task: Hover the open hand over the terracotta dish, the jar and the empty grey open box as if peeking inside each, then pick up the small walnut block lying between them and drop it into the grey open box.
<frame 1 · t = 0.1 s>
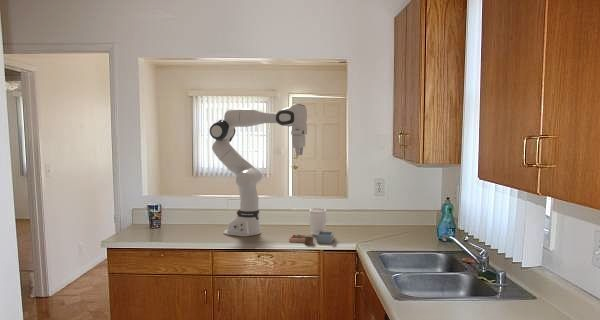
hand: (299, 155, 247), 48 cm above the table, fingers open, 8 cm apart
grey open box: (325, 242, 236), on the table
jar: (317, 234, 254), on the table
ball: (298, 240, 238), point 1 cm above the table, touching dish
dish: (298, 241, 238), on the table
block: (308, 244, 231), on the table
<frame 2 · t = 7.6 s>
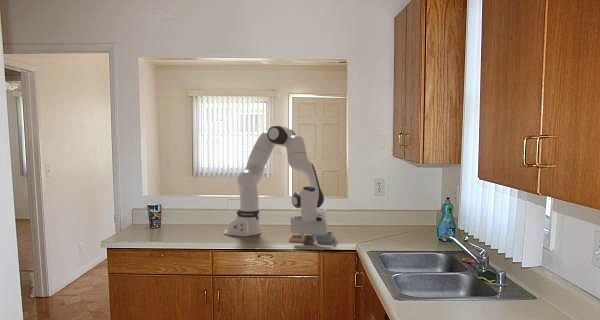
hand: (309, 241, 231), 2 cm above the table, fingers closed on block, 4 cm apart
block: (308, 244, 231), on the table, touching gripper
everything else where it was.
when the fingers open (9 cm above the table, at t = 11.6 s): block drops 6 cm, resting on grey open box.
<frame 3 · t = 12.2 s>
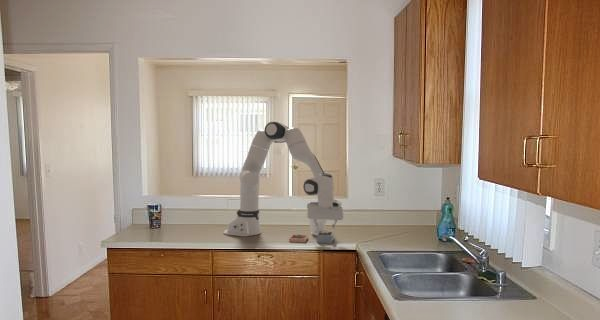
hand: (325, 227, 236), 9 cm above the table, fingers open, 8 cm apart
block: (324, 241, 236), point 1 cm above the table, touching grey open box
everything else where it was.
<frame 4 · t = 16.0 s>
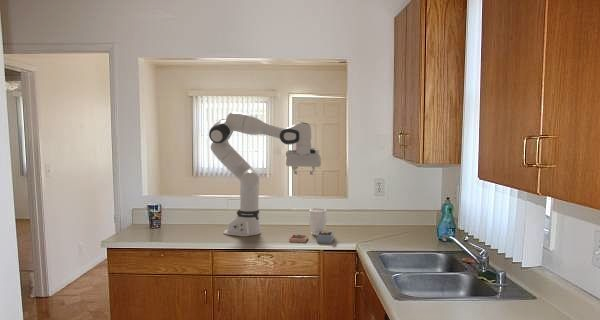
hand: (303, 174, 243), 37 cm above the table, fingers open, 8 cm apart
nothing on the table moved.
at the end: block 0.3 cm off-centre on the grey open box, point 0.6 cm above the grey open box's base; the gripper is holding nothing; ball moved 0.1 cm from its start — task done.
